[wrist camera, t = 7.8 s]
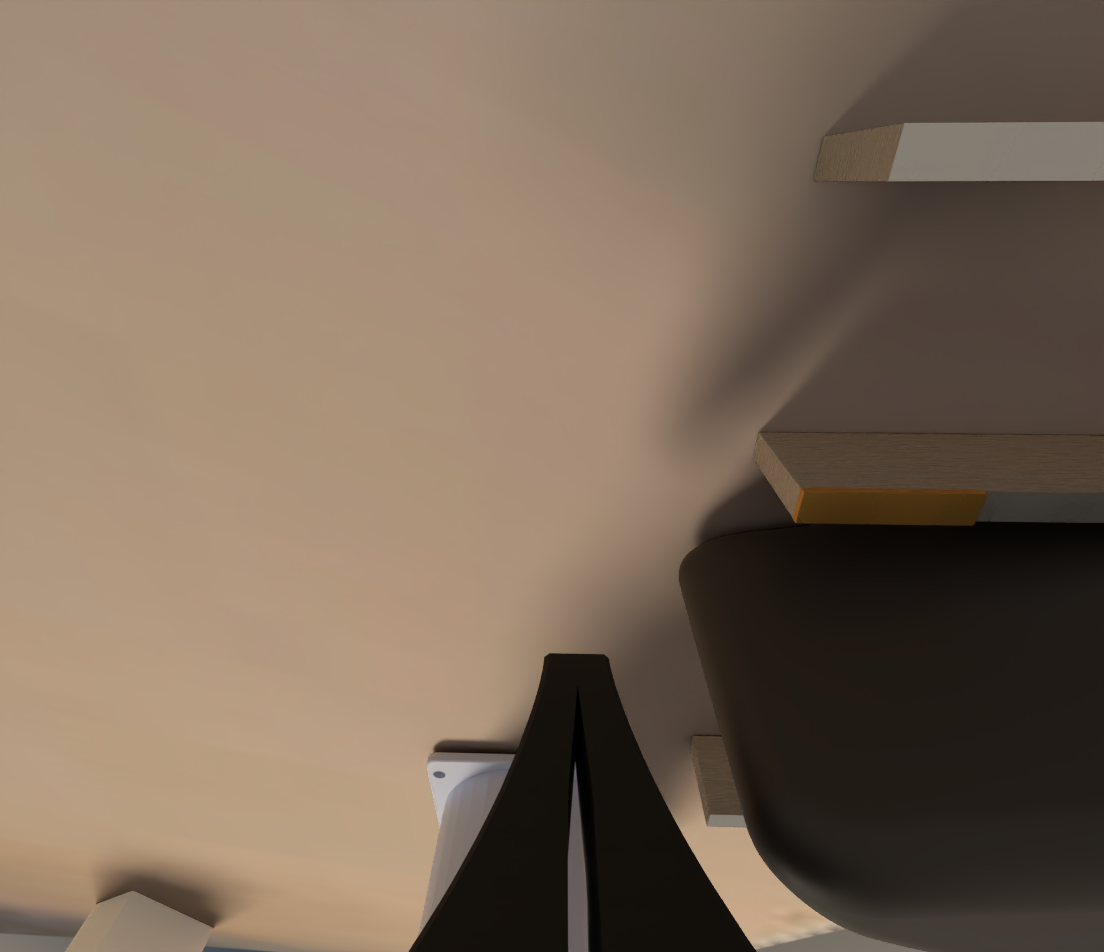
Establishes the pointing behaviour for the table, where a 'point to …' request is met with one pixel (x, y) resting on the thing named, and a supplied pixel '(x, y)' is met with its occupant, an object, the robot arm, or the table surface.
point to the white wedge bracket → (138, 928)
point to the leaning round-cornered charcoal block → (917, 723)
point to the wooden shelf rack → (930, 459)
